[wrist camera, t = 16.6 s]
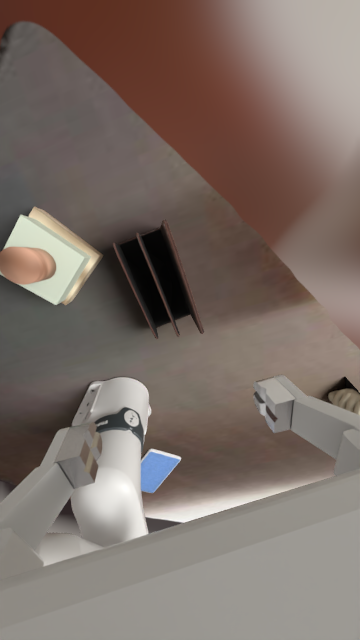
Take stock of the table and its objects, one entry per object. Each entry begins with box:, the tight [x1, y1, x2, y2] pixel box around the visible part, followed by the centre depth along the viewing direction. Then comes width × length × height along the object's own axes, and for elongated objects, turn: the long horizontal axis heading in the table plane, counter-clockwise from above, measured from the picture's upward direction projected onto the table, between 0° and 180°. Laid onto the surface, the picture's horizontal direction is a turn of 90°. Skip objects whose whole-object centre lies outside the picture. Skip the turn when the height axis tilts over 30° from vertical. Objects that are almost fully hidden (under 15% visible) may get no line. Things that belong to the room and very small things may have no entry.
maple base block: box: [28, 207, 104, 305], centre depth 36 cm, size 12×12×4 cm
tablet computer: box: [141, 449, 181, 493], centre depth 64 cm, size 19×13×1 cm, turn 147°
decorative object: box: [328, 377, 360, 415], centre depth 60 cm, size 12×10×10 cm
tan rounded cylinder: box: [0, 247, 56, 285], centre depth 28 cm, size 5×5×5 cm
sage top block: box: [0, 215, 91, 305], centre depth 32 cm, size 10×10×4 cm
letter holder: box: [113, 220, 204, 339], centre depth 35 cm, size 10×20×14 cm, turn 19°
